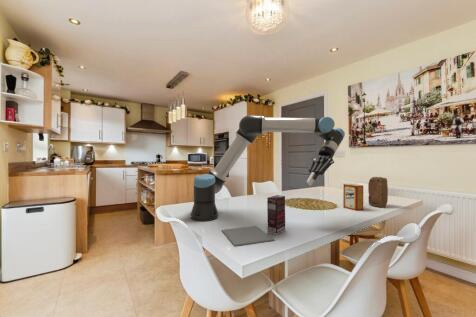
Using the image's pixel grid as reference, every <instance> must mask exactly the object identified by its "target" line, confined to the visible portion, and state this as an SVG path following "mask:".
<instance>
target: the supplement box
mask: <svg viewBox="0 0 476 317" xmlns="http://www.w3.org/2000/svg"><path fill="white" fill-rule="evenodd" d="M266 204H267V207H266V208H267V213H266V214H267V234H269V235H274V236H278V235H279V234H281V233H283V232H285V231H286V196H285V195H279V194H276V195H273V196H269V197H267V201H266Z"/></svg>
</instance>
